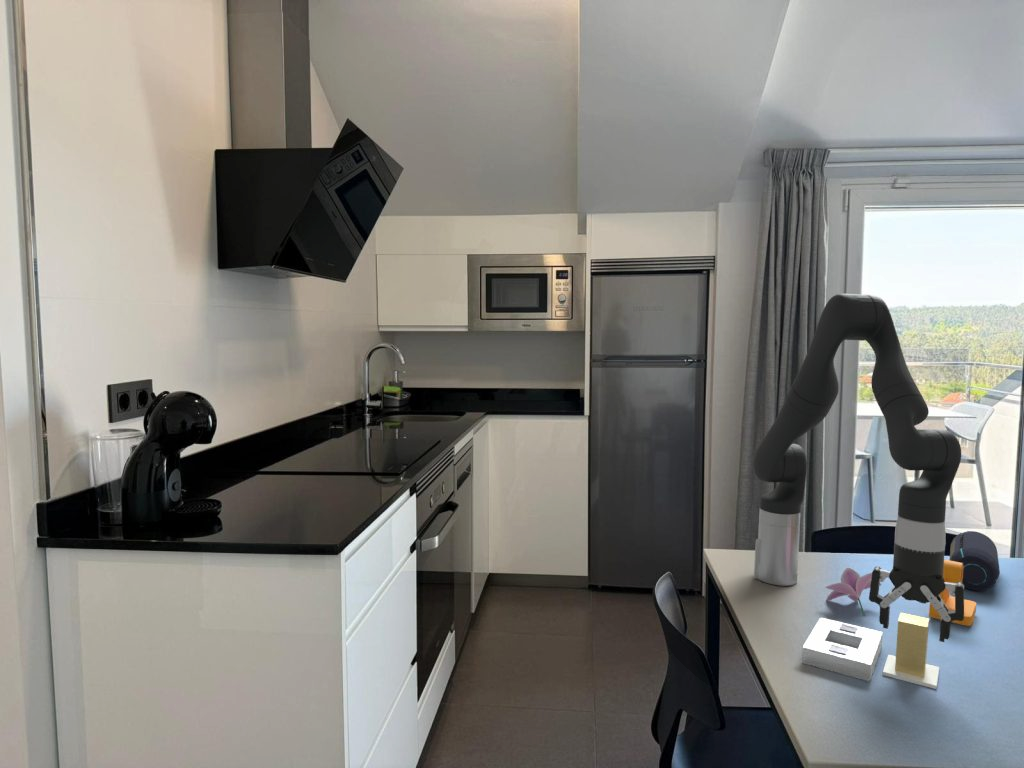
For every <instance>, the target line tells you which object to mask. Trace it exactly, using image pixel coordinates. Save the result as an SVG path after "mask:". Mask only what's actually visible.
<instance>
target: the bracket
mask: <svg viewBox="0 0 1024 768" xmlns="http://www.w3.org/2000/svg"><path fill="white" fill-rule="evenodd" d="M943 578H944V581H945V582H949V583H957V582H962V579H963V563H960V562H955V561H950V560H949V559H945V558H944V567H943ZM939 596H940V597H941V598H942V600H943V601H944V603H945V605H946V606H947V608H948V609H949V611H955V597H953V596H951V595H950V592H949V590H948V589H945V590H944V591H943V592H941V593H940V594H939ZM936 598H937V597H936ZM928 609H929V610H928V618H934V619H938V620H941V616H940V614H939V613H938V612H937V611H936V610H935V609H934V607H933V606H932V604H931V603H930V602H929V608H928ZM976 613H977V602H976V601H973V600H970V599H965V598H964V619H963V620H962V621H958V620H954V621H952V622H951V623H953V624H957V625H958V624H959V625H961V626H962V625H963V626H969V627H972V626H973V624H974V621H975V618H976Z"/></svg>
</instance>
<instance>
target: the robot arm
mask: <svg viewBox="0 0 1024 768" xmlns="http://www.w3.org/2000/svg"><path fill="white" fill-rule="evenodd" d="M894 323H895V322H894V321H893V317H892V314H891V312H890V309H889V307H888V305H887V304H886V302H885V301H884V299H883V298H881V297H879V296H877V295H871V294H860V293H859V294H858V293H839V294H835V295H833V296H832V297H831V298H829V300H828V301H827V302H826V304H825V305H824V307H823V310H822V311H821V314H820V317H819V320H818V323H817V326H816V329H815V332H814V335H813V338H812V340H811V343H810V345H809V349H808V350H807V353H806V354H805V355H806V356H805V358H804V360H803V362H802V363H801V364H802V365H801V366H800V369H799V371H798V373H797V375H796V377H795V378H794V380H793V382H792V384H791V386H790V388H789V389H788V393H787V395H786V397H785V398H784V399H785V400H784V402H783V404H782V406H781V408H780V410H779V412H778V414H777V416H776V418H775V419H774V421H773V424H772V425H771V427H770V428H769V430H768V431H767V433H766V434H765V436H764V437H763V439H762V441H761V442H760V444H759V446H757V447H758V448H757V450H756V451H755V454H754V457H753V472H754V475H755V476H756V478H757V479H759V480H760V481H762V482H765V483H766V482H767V483H778V485H777V486H776V487H775V488H774V489H773V490H771V491H769V492H766V493H764V494H763V495H761V496H760V500H759V512H758V514H759V515H758V532H757V533H758V536H757V537H758V538H756V539H755V549H754V566H753V567H754V569H753V578H754V579H756V580H759V581H761V582H764V583H767V584H769V585H775V586H787V587H788V586H794V585H795V584H797V582H798V575H799V574H798V570H799V569H798V568H799V551H800V530H801V528H800V527H801V512H802V510H801V508H802V504H803V502H804V499H805V488H806V480H807V470H808V461H807V456H806V453H805V452H806V451H805V450H804V448H803V447H802V446H801V445H800V444H797V443H795V442H796V441H797V440H798V439H799V438H801V437H803V436H804V435H805V434H807V433H808V432H809V431H811V430H812V429H813V428H815V427H817V426H818V425H819V424H820V423H821V422H822V421H823V420H825V418H826V417H827V416H828V414H829V412H830V411H831V409H832V407H833V405H834V403H835V401H836V399H837V397H838V394H839V390H840V389H839V387H840V386H839V381H838V376H837V373H836V368H835V363H834V361H835V360H834V359H835V357H836V355H837V351H838V349H839V347H840V345H841V344H842V343H843V342H844V341H861V342H862V341H865V342H867V344H868V345H869V346H870V348H871V349H872V350H873V352H874V354H875V355H874V356H875V360H874V361H875V363H874V367H873V371H872V376H871V390H872V393H873V396H874V399H875V401H876V403H877V405H878V407H879V409H880V411H881V413H882V415H883V417H884V419H885V425H886V432H887V438H888V448H889V453H890V456H891V458H892V460H893V461H894V463H896V464H897V465H898V467H900V468H902V469H903V470H908V471H922V473H920V474H921V475H920V476H919V477H918V478H917V479H915V480H912V481H909V482H905V483H904V484H902V485H901V486H900V487H899V488H900V489H899V491H898V492H899V493H898V508H897V518H896V523H895V530H894V545H893V559H892V560H893V561H892V569H891V571H890V570H885V569H882V568H881V566H879V565H877V566H874V568H873V570H872V572H871V573H872V578H871V586H870V588H869V595H868V600H869V601H870V602H871V603H875V604H877V605H878V606H879V617H878V618H879V619H878V621H879V625H882V628H883V629H886V630H887V629H888V628H889V625H890V610H891V605H892V604H893V603H894V602H895V601H896V600H898V599H899V598H900V597H902V598H904V600H906V601H916V602H918V603H921V604H928V603H929V604H930V603H931V604H932V606H933V607H934V609H935V610H936V611H937V612H938V613H939V614H940V616H941V619H940V625H939V626H940V629H939V640H938V641H939V642H940V643H941V642H942V643H945V640H947V641H948V640H949V639H950V635H951V623H953V622H952V621H954V620H958V621H962V620H963V619H964V599H965V587H964V584H963V583H962V582H957V583H949V582H945V581H944V578H943V567H944V559H945V551H946V545H947V541H946V536H947V535H946V512H947V497H948V495H949V493H950V490H951V489H952V486H953V482H954V481H955V477H956V475H957V474H958V473H957V472H958V470H959V467H960V464H961V460H962V447H961V444H960V441H959V439H958V438H957V436H956V435H955V434H954V433H953V432H951V431H949V430H947V429H917V428H916V426H917V425H920V424H921V423H923V422H924V421H926V419H927V417H928V416H929V412H930V411H929V407H928V405H927V403H926V400H925V399H924V397H923V395H922V393H921V392H920V390H919V388H918V386H917V384H916V382H915V380H914V378H913V377H912V374H911V372H910V370H909V368H908V364H907V362H906V360H905V356H904V353H903V349H902V346H901V343H900V339H899V337H898V336H899V335H898V333H897V331H896V330H897V329H896V327H895V324H894ZM887 578H888V579H889V580H890V581H891V584H892V585H893V587H892V588H891V590H890V591H888V593H886V594H885V595H884V596H882V595H881V594H879V592H880V587H881V586H880V583H884V582H885V580H886V579H887ZM945 589H948V590H949V596H952V597H955V611H949V609H948V608H947V606H946V605H945V603H944V601H943V600H942V598H941V597H940V596H939V594H940V593H941V592H943V591H944V590H945ZM936 597H937V598H936Z"/></svg>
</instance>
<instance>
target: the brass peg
mask: <svg viewBox="0 0 1024 768" xmlns="http://www.w3.org/2000/svg"><path fill="white" fill-rule="evenodd" d="M929 626H930V617H922V616H919V615H914V614H910V613H905V612H900V613H899V616H898V620H897V631H896V632H897V633H896V634H897V635H896V651H895V656H896V663H895V671H899V672H903V673H907V674H911V675H915V676H919V677H922V678H924V676H925V670H926V664H927V657H928V643H929V641H928V640H929V639H928V638H929V628H930V627H929Z"/></svg>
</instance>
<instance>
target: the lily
mask: <svg viewBox="0 0 1024 768" xmlns="http://www.w3.org/2000/svg"><path fill="white" fill-rule="evenodd" d="M871 578H872V572H870V573H866V574H864V575H862V576H860V574H859V573H858V572H857V571H856V570H854V569H852V568H850V567H846V568H845V569H844V570H843V572H842V574H841V577H840V582H838V583H837V582H836V583H833V584H830V585H827V586H825V589H828V590H831V592H830V594H829V595H827V597H826V600H825V601H826V602H830V601H832V600H834V599H837V598H840V597H844V596H847V598H849V599H851V600H852V601H853V602H855V603H857V602H858V603H859V607H860V610H861V612H862V615H864V616H866V615H865V612H864V609H863V605H862V602H861V599H860V598H861V595H862V592H863V591H865V590H868V589H870V586H871ZM881 586H882V582H880V586H879V587H881Z"/></svg>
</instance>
